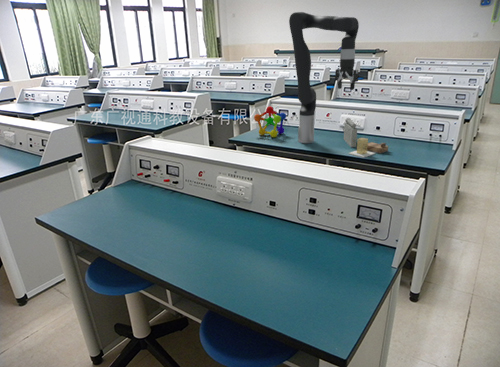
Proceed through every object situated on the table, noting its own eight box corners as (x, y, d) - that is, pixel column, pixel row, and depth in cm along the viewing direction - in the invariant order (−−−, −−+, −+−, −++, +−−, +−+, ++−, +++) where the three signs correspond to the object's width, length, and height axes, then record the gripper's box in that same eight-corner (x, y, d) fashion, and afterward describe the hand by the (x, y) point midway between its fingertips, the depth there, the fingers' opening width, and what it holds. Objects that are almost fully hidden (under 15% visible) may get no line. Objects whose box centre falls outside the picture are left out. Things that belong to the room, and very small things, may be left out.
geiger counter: (359, 124, 208) (349, 115, 231) (348, 124, 208) (339, 115, 231) (357, 147, 213) (348, 136, 236) (347, 147, 213) (338, 137, 236)
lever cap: (356, 152, 201) (357, 138, 198) (361, 151, 203) (362, 137, 200) (362, 154, 198) (363, 140, 195) (367, 152, 200) (368, 138, 197)
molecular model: (251, 134, 250) (252, 105, 243) (264, 131, 261) (265, 103, 255) (277, 139, 238) (279, 108, 232) (289, 136, 250) (291, 107, 243)
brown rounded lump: (362, 149, 209) (363, 140, 207) (370, 147, 212) (370, 138, 210) (380, 153, 199) (381, 145, 197) (388, 151, 203) (389, 142, 201)
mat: (348, 153, 202) (348, 152, 201) (360, 150, 207) (360, 149, 207) (363, 157, 194) (363, 156, 194) (375, 154, 199) (375, 153, 199)
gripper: (362, 57, 189) (360, 89, 195) (341, 57, 200) (340, 87, 206) (353, 58, 185) (351, 91, 191) (332, 58, 196) (331, 88, 202)
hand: (345, 89), depth 199 cm, fingers open, 8 cm apart
